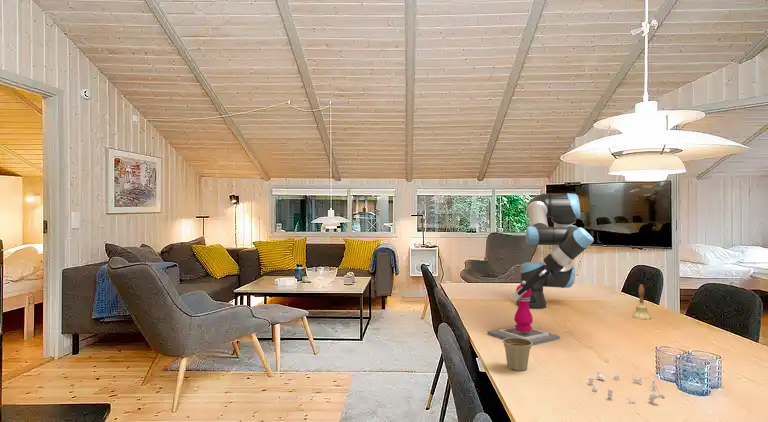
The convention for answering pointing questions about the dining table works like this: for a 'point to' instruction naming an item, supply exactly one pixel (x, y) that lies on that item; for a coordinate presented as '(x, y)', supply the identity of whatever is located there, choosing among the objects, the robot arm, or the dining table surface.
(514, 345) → the flower pot
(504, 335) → the plate
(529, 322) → the pepper mill
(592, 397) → the dining table surface
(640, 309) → the hand bell
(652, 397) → the game piece set
